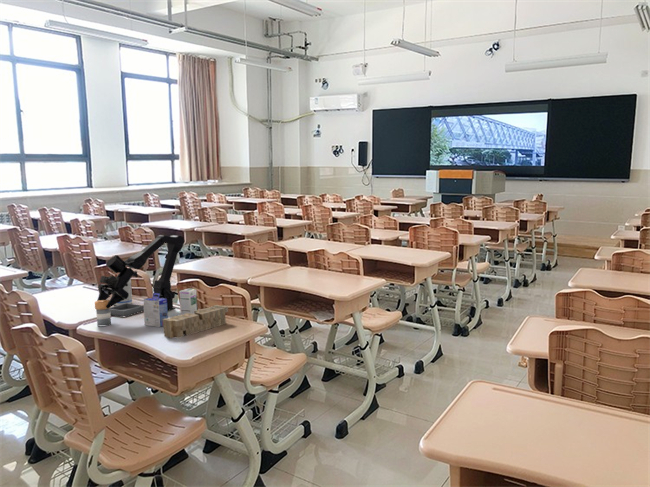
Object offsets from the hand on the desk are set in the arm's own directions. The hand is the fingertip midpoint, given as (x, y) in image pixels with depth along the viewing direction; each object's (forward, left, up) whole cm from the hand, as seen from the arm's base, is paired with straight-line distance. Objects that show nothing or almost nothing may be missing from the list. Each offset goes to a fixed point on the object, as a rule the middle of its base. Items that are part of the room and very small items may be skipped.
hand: (101, 306), depth 227 cm
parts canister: (0, 0, -9) cm, 9 cm away
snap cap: (0, -1, -1) cm, 1 cm away
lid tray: (+8, -20, -9) cm, 23 cm away
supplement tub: (+25, -33, -9) cm, 43 cm away
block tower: (-46, -12, -9) cm, 49 cm away
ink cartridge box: (-24, -10, -9) cm, 27 cm away
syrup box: (-32, -23, -9) cm, 40 cm away
